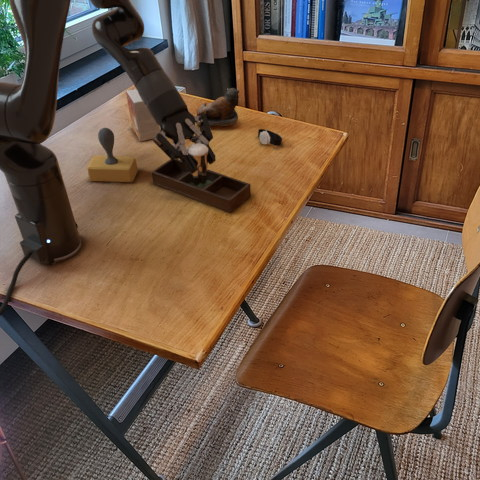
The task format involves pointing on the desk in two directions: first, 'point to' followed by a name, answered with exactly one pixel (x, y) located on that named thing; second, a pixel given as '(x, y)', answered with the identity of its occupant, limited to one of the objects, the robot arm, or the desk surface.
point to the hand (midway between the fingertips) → (204, 166)
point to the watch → (269, 137)
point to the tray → (212, 193)
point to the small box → (141, 117)
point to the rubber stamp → (111, 162)
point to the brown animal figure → (221, 109)
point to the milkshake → (199, 162)
